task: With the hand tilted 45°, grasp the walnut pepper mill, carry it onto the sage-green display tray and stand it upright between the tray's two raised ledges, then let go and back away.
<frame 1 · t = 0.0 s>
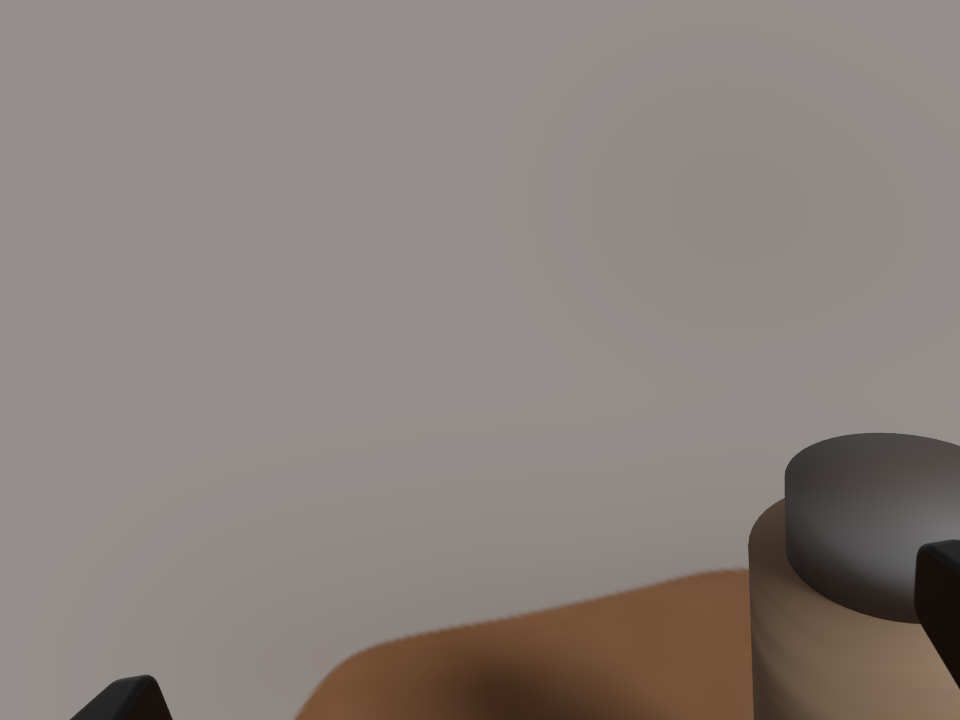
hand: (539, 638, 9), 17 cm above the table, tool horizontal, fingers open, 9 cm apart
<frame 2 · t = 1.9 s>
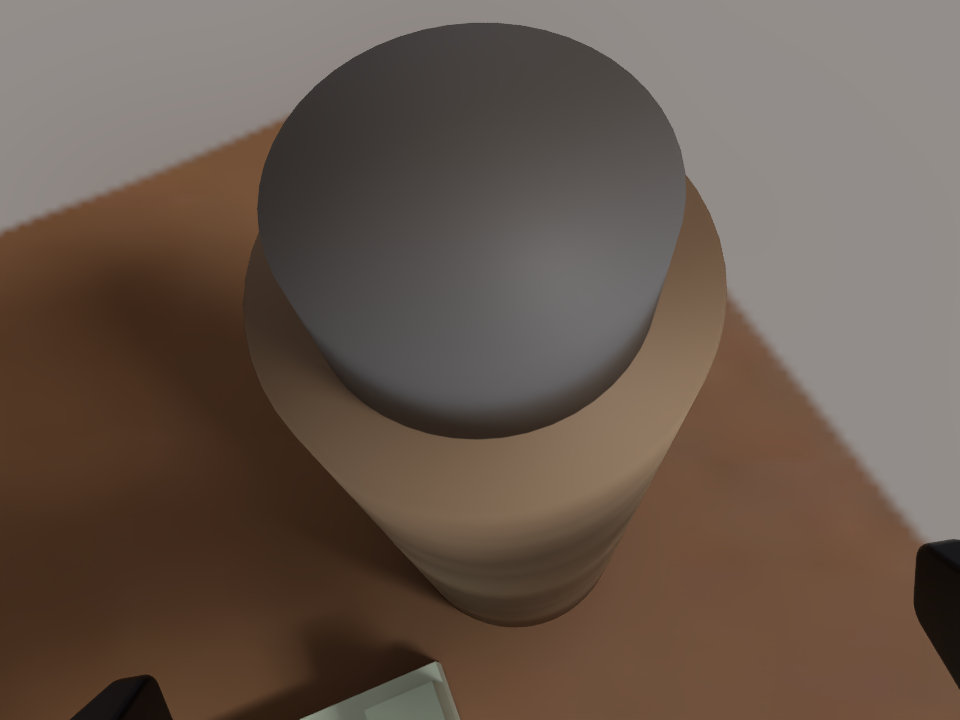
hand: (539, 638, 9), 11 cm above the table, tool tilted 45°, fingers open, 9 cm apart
pepper mill: (513, 523, 20), on the table
when the fingers open (9 cm above the table, at t = 7.3 s): pepper mill drops 1 cm, resting on display tray.
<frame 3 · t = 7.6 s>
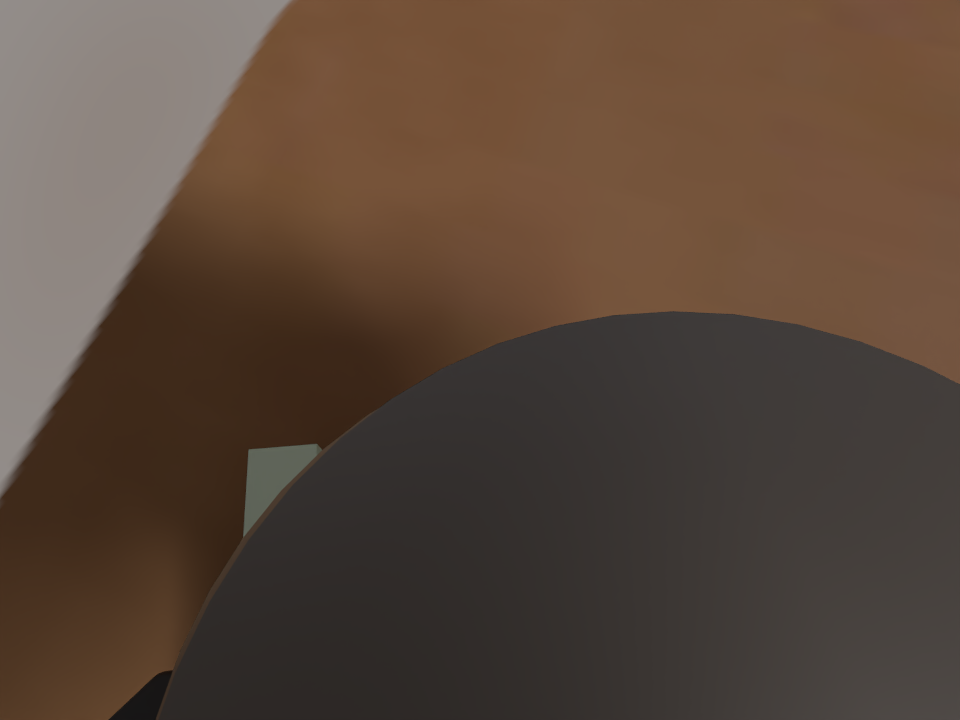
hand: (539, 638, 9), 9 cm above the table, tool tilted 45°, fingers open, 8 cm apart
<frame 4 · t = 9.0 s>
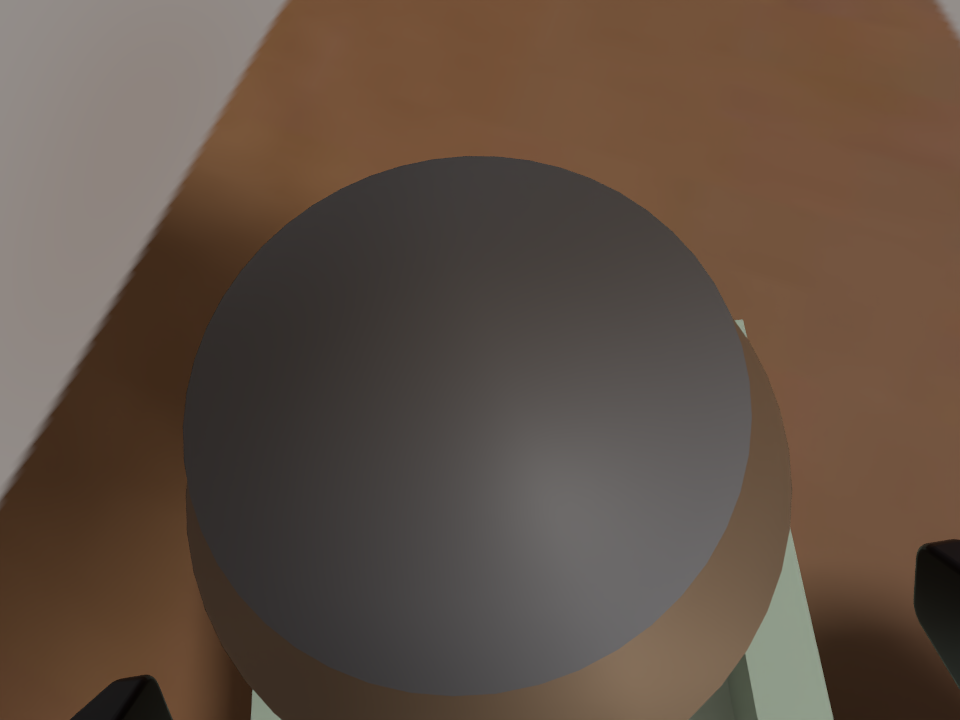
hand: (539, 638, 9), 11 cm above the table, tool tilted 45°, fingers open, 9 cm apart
pepper mill: (524, 600, 18), point 1 cm above the table, touching display tray
display tray: (525, 600, 19), on the table
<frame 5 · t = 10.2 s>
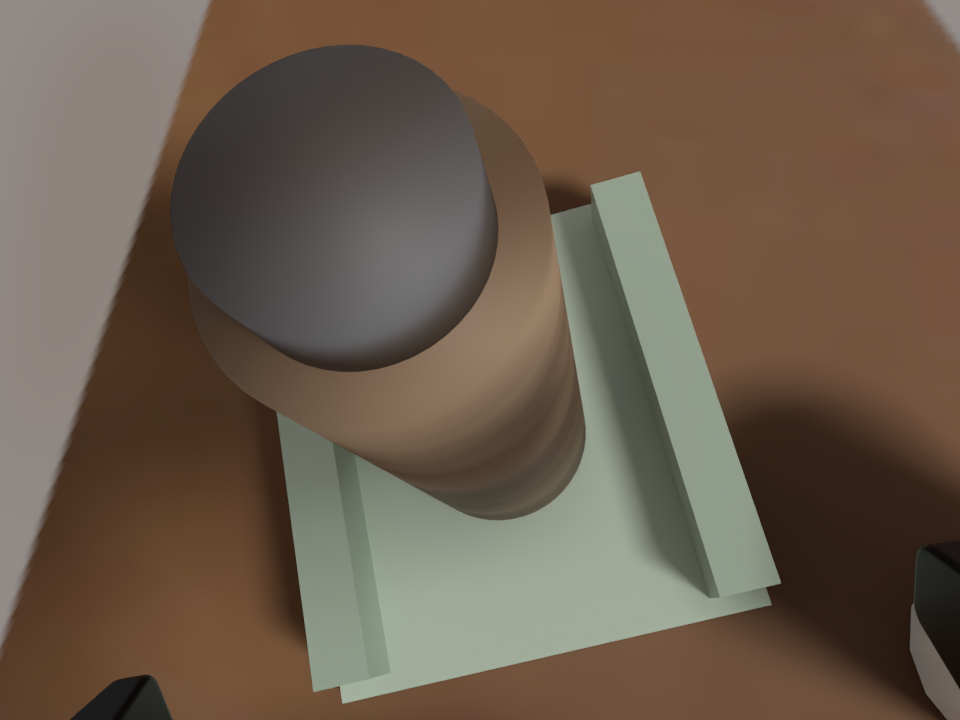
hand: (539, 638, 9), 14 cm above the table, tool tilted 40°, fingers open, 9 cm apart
pepper mill: (498, 432, 23), point 1 cm above the table, touching display tray
display tray: (503, 435, 24), on the table
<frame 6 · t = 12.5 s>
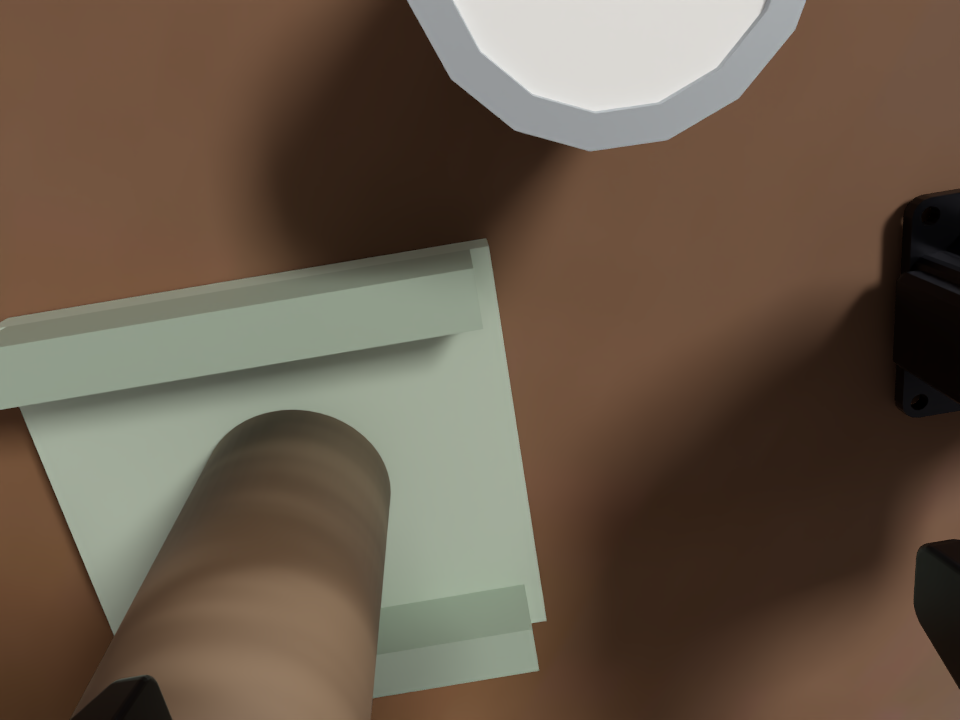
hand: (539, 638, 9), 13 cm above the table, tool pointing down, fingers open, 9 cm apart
pepper mill: (298, 492, 21), point 1 cm above the table, touching display tray
display tray: (300, 472, 22), on the table
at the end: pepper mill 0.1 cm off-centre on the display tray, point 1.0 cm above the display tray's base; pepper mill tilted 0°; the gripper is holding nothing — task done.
